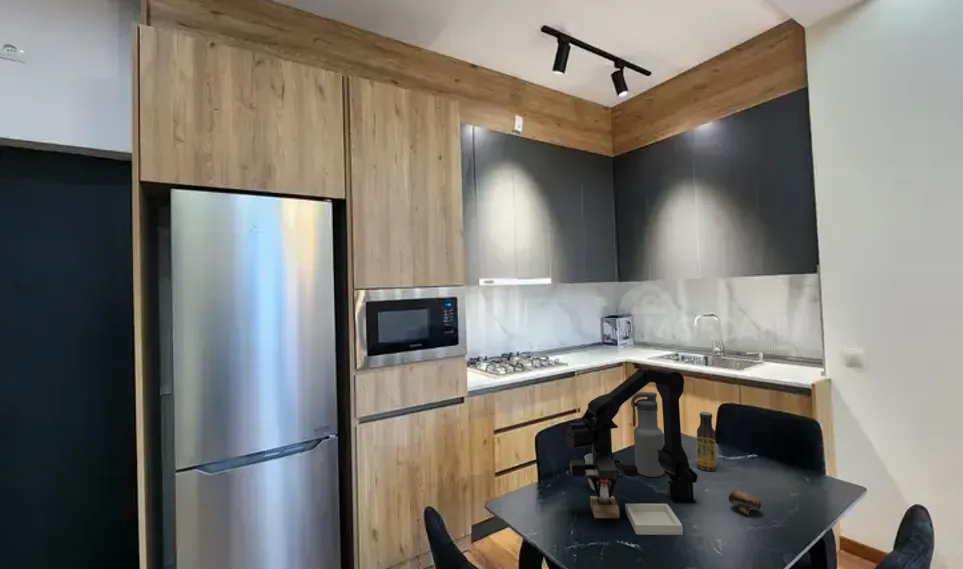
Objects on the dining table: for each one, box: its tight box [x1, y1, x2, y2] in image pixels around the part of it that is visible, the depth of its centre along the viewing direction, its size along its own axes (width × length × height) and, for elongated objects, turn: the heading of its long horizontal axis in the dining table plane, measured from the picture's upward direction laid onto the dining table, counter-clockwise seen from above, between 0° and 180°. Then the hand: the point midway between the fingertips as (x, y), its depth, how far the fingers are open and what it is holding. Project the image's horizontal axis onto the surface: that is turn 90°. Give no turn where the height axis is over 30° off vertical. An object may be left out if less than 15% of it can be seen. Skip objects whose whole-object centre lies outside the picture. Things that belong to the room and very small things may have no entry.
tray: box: [624, 503, 684, 536], centre depth 123 cm, size 12×12×2 cm
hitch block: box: [589, 495, 620, 519], centre depth 130 cm, size 7×7×3 cm
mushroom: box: [728, 490, 762, 516], centre depth 127 cm, size 8×8×6 cm
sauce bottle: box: [696, 411, 717, 472], centre depth 158 cm, size 7×6×20 cm
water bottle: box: [630, 391, 665, 478], centre depth 157 cm, size 10×10×28 cm
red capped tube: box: [596, 475, 610, 505], centre depth 130 cm, size 4×4×10 cm
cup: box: [584, 453, 598, 492], centre depth 146 cm, size 8×8×10 cm
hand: (604, 496), depth 130 cm, fingers closed on red capped tube, 3 cm apart
